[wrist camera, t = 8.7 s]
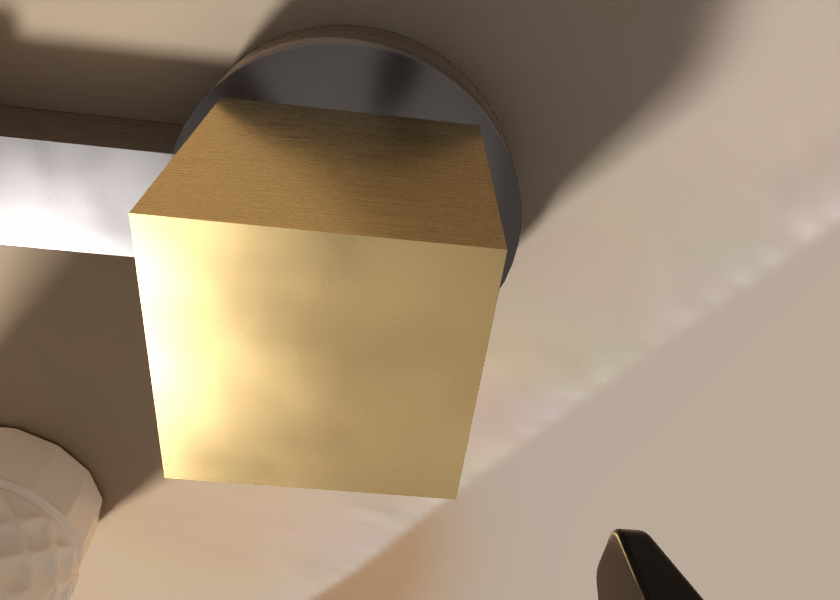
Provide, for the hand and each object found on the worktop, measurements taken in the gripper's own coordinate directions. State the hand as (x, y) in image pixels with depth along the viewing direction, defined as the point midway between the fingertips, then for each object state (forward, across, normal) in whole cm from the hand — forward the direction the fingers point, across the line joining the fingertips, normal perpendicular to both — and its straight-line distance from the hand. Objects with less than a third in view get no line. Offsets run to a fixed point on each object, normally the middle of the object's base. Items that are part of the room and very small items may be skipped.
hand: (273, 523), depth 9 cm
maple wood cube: (+10, 0, +1) cm, 10 cm away
